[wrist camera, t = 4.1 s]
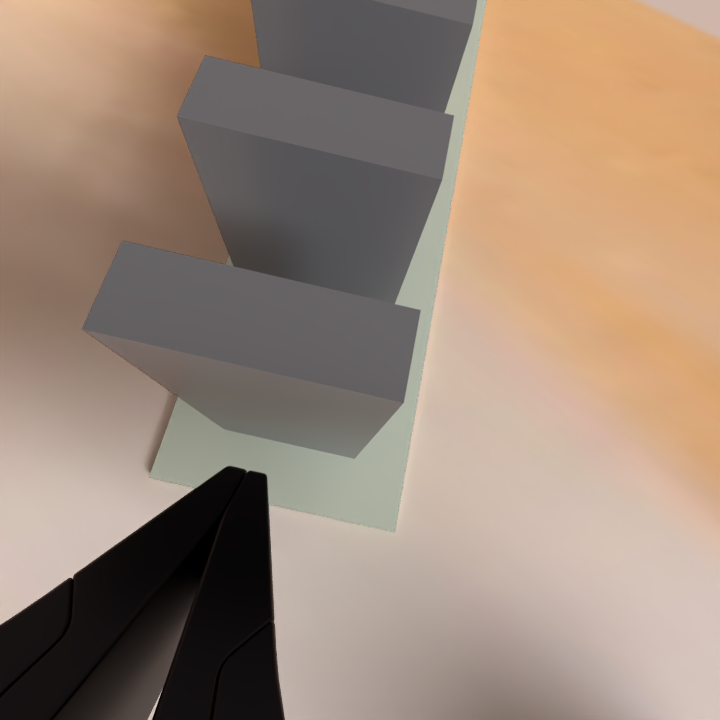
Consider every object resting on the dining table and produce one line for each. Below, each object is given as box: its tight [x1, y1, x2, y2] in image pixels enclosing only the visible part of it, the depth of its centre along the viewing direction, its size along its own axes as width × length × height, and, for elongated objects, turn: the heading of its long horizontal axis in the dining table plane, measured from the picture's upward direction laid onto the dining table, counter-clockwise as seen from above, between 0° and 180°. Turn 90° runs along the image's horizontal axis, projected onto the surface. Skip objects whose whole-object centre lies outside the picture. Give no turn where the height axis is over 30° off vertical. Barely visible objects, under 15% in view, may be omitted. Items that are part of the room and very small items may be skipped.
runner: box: [149, 0, 487, 532], centre depth 20 cm, size 30×9×1 cm, turn 167°
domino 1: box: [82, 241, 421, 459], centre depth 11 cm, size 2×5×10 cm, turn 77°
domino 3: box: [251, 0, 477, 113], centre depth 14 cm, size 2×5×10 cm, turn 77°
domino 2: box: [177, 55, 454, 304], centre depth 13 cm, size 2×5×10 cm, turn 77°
